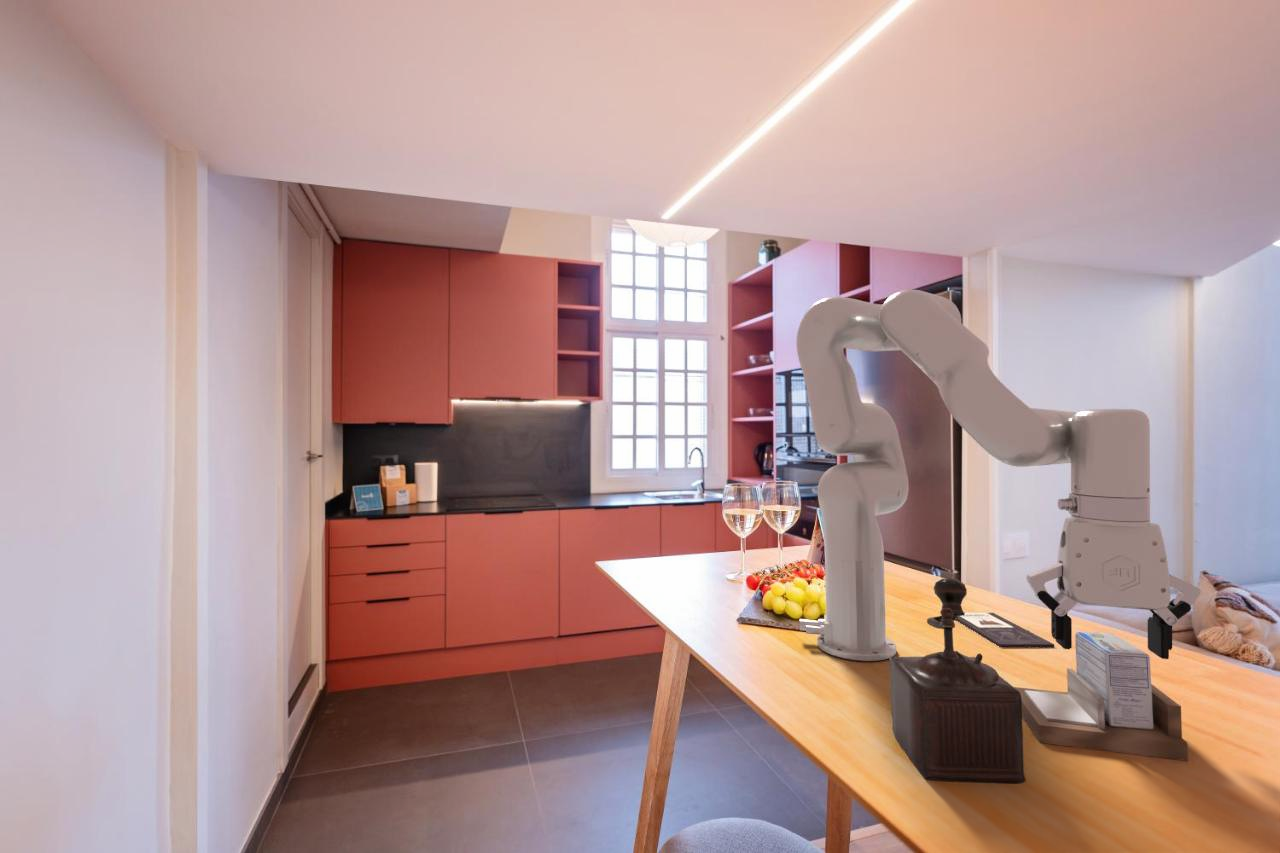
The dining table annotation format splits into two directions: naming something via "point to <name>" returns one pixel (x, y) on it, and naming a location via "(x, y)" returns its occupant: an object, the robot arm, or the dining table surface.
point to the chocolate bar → (1002, 631)
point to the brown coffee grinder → (956, 708)
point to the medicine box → (1117, 678)
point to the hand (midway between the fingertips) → (1109, 649)
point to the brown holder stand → (1101, 721)
